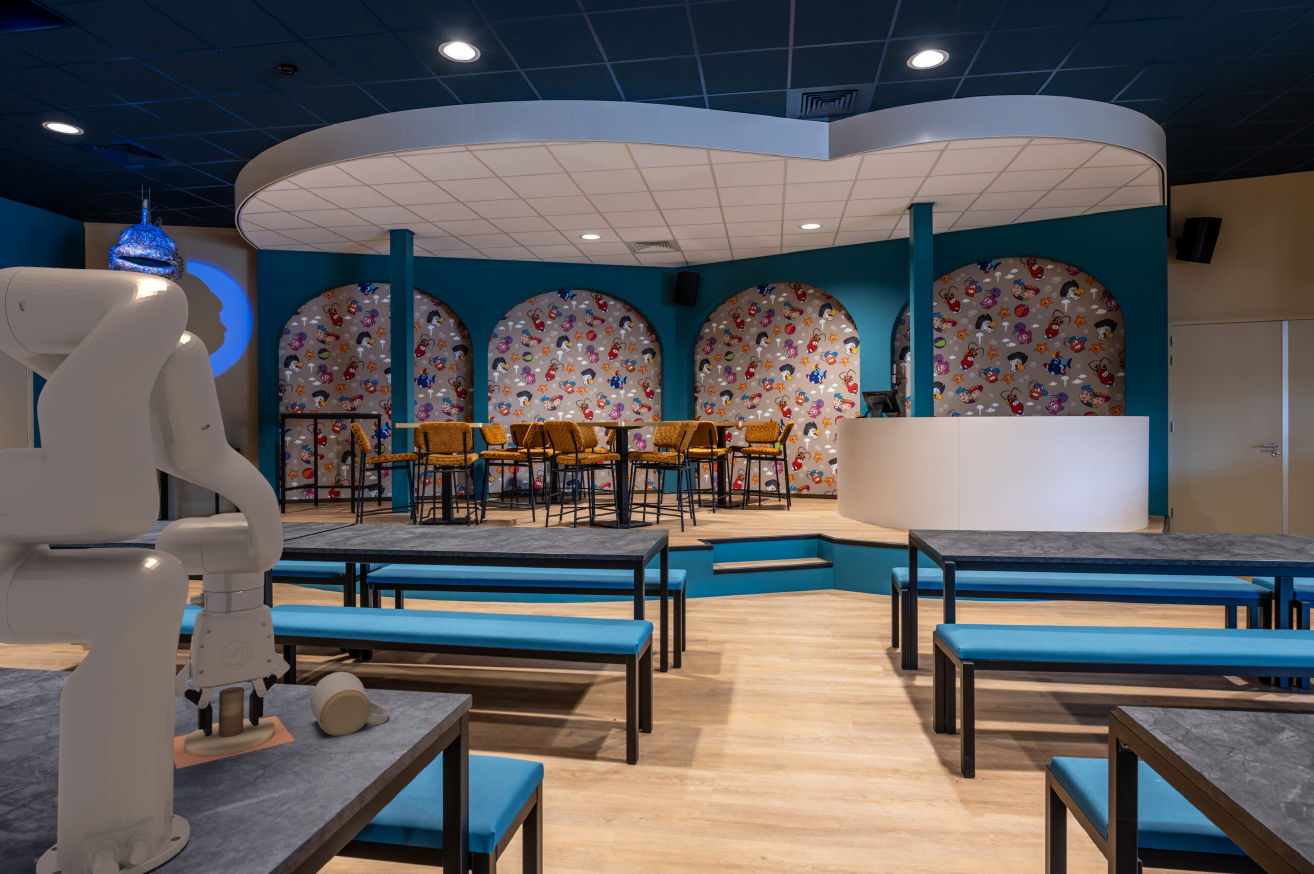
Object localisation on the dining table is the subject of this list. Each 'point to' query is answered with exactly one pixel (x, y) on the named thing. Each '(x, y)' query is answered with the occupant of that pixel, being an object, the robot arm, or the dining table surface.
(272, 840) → the dining table surface
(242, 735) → the lid
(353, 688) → the ceramic mug
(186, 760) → the mat
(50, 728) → the dining table surface
